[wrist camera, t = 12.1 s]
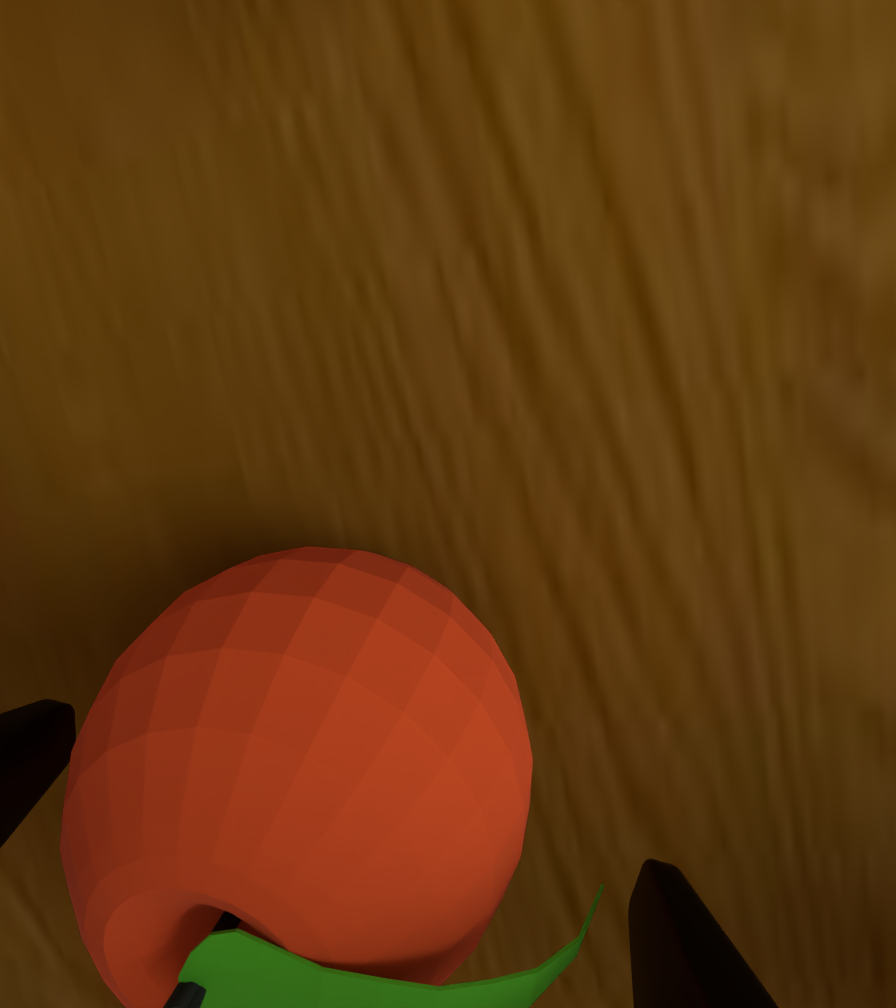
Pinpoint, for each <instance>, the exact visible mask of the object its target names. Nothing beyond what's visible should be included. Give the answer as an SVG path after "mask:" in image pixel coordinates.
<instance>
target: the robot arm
mask: <svg viewBox="0 0 896 1008" xmlns="http://www.w3.org/2000/svg"><path fill="white" fill-rule="evenodd" d="M75 742H76V728H75V711H74V708H73V707H72V706H71V705H70V704H67V703H63V702H59V701H56V700H52V699H44V700H40V701H37V702H34V703H31V704H28V705H25V706H22V707H19V708H16V709H13V710H10V711H7V712H4V713H1V714H0V848H1V847H2V845H3V844H4V843H5V842H6V841H7V839H8V838H9V837H10V836H11V834H12V833H13V832H14V831H15V829H16V828H17V827H18V826H19V824H20V823H21V822H22V821H23V819H24V818H25V817H26V816H27V815H28V813H29V812H30V811H31V810H32V808H33V807H34V806H35V805H36V803H37V802H38V801H39V800H40V798H41V797H42V796H43V795H44V793H45V792H46V791H47V790H48V788H49V787H50V786H51V785H52V783H53V782H54V781H55V780H56V778H57V777H58V776H59V775H60V774H61V772H62V771H63V770H64V769H65V767H66V766H67V765H68V763H69V762H70V758H71V751H72V749H73V747H74V744H75ZM628 921H629V937H630V953H631V970H632V986H633V1002H634V1008H779V1007H778V1006H777V1004H776V1003H775V1002H774V1000H773V999H772V997H771V996H770V995H769V993H768V992H767V990H766V989H765V988H764V986H763V985H762V983H761V982H760V981H759V979H758V978H757V977H756V975H755V974H754V972H753V971H752V970H751V968H750V967H749V965H748V964H747V963H746V961H745V960H744V958H743V957H742V956H741V954H740V953H739V951H738V950H737V949H736V947H735V946H734V945H733V943H732V942H731V940H730V939H729V938H728V936H727V935H726V933H725V932H724V931H723V929H722V928H721V926H720V925H719V924H718V922H717V921H716V920H715V918H714V917H713V915H712V914H711V913H710V911H709V910H708V908H707V907H706V906H705V904H704V903H703V901H702V900H701V899H700V897H699V896H698V894H697V893H696V892H695V890H694V889H693V888H692V886H691V885H690V883H689V882H688V881H687V879H686V878H685V876H684V875H683V874H682V872H681V871H680V870H679V869H678V868H677V867H676V866H674V865H672V864H669V863H665V862H661V861H658V860H654V859H647V860H646V861H645V862H644V863H643V865H642V868H641V870H640V873H639V876H638V879H637V881H636V884H635V887H634V890H633V893H632V895H631V898H630V902H629V910H628Z"/></svg>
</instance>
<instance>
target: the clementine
mask: <svg viewBox="0 0 896 1008" xmlns="http://www.w3.org/2000/svg"><path fill="white" fill-rule="evenodd" d="M532 766H533V757H532V752H531V747H530V741H529V736H528V730H527V725H526V720H525V716H524V712H523V707H522V703H521V699H520V695H519V691H518V687H517V683H516V678H515V676H514V674H513V672H512V670H511V668H510V667H509V665H508V663H507V661H506V660H505V658H504V656H503V654H502V653H501V651H500V649H499V647H498V645H497V644H496V642H495V640H494V638H493V637H492V635H491V633H490V632H489V631H488V630H487V629H486V627H485V626H484V625H483V624H482V623H481V622H480V621H479V619H478V618H477V617H476V616H475V615H474V614H473V613H472V612H471V611H470V610H469V609H468V608H467V607H466V606H465V605H464V604H463V603H462V602H461V601H460V600H459V599H458V598H457V597H456V596H455V595H454V594H453V593H452V592H451V591H450V590H449V589H448V588H447V587H445V586H444V585H442V584H440V583H439V582H437V581H436V580H434V579H432V578H431V577H429V576H428V575H426V574H424V573H423V572H421V571H420V570H418V569H417V568H415V567H413V566H412V565H409V564H406V563H403V562H400V561H397V560H394V559H391V558H388V557H385V556H382V555H379V554H376V553H373V552H369V551H362V550H352V549H338V548H325V547H311V546H305V547H300V548H295V549H290V550H284V551H279V552H274V553H269V554H264V555H259V556H257V557H255V558H252V559H250V560H248V561H245V562H243V563H241V564H238V565H236V566H234V567H231V568H229V569H227V570H225V571H223V572H221V573H219V574H217V575H216V576H214V577H212V578H210V579H208V580H206V581H204V582H202V583H200V584H198V585H197V586H195V587H193V588H191V589H189V590H187V591H185V592H183V593H182V594H181V595H180V596H179V597H178V598H177V599H176V600H175V601H174V602H173V603H172V604H171V605H170V606H169V607H168V608H167V609H166V610H165V611H164V612H163V613H162V614H161V615H160V616H158V617H157V618H156V619H155V620H154V621H153V622H152V623H151V624H150V625H149V626H148V627H147V628H146V629H145V630H144V631H143V632H142V633H141V634H140V636H139V637H138V638H137V639H136V640H135V641H134V642H133V643H132V644H131V645H130V646H129V647H128V648H127V649H126V650H125V651H124V652H123V653H122V654H121V655H120V656H119V658H118V659H117V660H116V661H115V663H114V665H113V667H112V669H111V671H110V672H109V674H108V676H107V678H106V680H105V682H104V684H103V686H102V688H101V690H100V692H99V694H98V695H97V697H96V699H95V701H94V703H93V705H92V707H91V709H90V711H89V713H88V715H87V717H86V720H85V722H84V724H83V726H82V729H81V731H80V733H79V735H78V738H77V740H76V742H75V744H74V747H73V749H72V751H71V758H70V765H69V772H68V779H67V785H66V792H65V799H64V806H63V813H62V826H61V839H60V855H61V859H62V864H63V868H64V872H65V877H66V881H67V886H68V890H69V894H70V897H71V901H72V905H73V909H74V912H75V916H76V920H77V923H78V927H79V931H80V934H81V938H82V940H83V942H84V944H85V946H86V948H87V950H88V952H89V954H90V956H91V958H92V960H93V962H94V964H95V966H96V968H97V970H98V972H99V974H100V976H101V978H102V980H103V981H104V982H105V983H106V985H107V986H108V987H109V988H110V990H111V991H112V992H113V993H114V995H115V996H116V997H117V998H118V1000H119V1001H120V1002H121V1003H122V1004H123V1005H124V1006H125V1007H126V1008H529V1007H530V1006H531V1005H532V1004H533V1003H534V1002H535V1001H536V999H537V998H538V997H539V996H540V995H541V994H542V993H543V992H544V991H545V990H546V989H547V988H548V986H549V985H550V984H551V983H552V982H553V981H554V980H555V979H556V978H557V977H558V976H559V975H560V973H561V972H562V971H563V970H564V969H565V968H566V967H567V966H568V965H569V964H570V963H571V962H572V960H573V959H574V958H575V957H576V956H577V953H578V951H579V948H580V946H581V943H582V941H583V938H584V936H585V933H586V931H587V928H588V926H589V923H590V921H591V918H592V916H593V913H594V911H595V908H596V906H597V903H598V901H599V898H600V896H601V893H602V891H603V888H604V886H605V885H603V884H601V886H600V888H599V890H598V893H597V895H596V897H595V900H594V902H593V904H592V906H591V909H590V911H589V913H588V915H587V918H586V920H585V922H584V925H583V927H582V929H581V931H580V934H579V936H578V937H577V938H575V939H574V940H573V941H571V942H570V943H569V944H567V945H566V946H565V947H563V948H562V949H561V950H559V951H558V952H557V953H556V954H554V955H553V956H552V957H550V958H549V959H548V960H546V961H545V962H544V963H542V964H541V965H540V966H538V967H537V968H534V969H530V970H526V971H522V972H518V973H514V974H510V975H506V976H502V977H497V978H493V979H488V980H481V981H474V982H467V983H459V984H452V985H445V986H440V985H441V984H442V983H443V982H445V980H446V979H447V978H448V977H449V976H450V975H451V974H452V973H453V972H454V971H455V970H456V969H457V968H458V967H459V966H460V965H461V964H462V963H463V962H464V961H465V960H466V958H467V957H468V956H469V955H470V954H471V953H472V952H473V951H474V950H475V948H476V947H477V945H478V943H479V941H480V939H481V937H482V936H483V934H484V932H485V930H486V928H487V926H488V925H489V923H490V921H491V919H492V917H493V915H494V914H495V912H496V910H497V908H498V906H499V904H500V903H501V901H502V899H503V897H504V894H505V892H506V890H507V887H508V885H509V883H510V880H511V878H512V876H513V874H514V871H515V869H516V867H517V864H518V862H519V860H520V858H521V853H522V847H523V842H524V836H525V830H526V825H527V819H528V813H529V807H530V793H531V780H532Z"/></svg>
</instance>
